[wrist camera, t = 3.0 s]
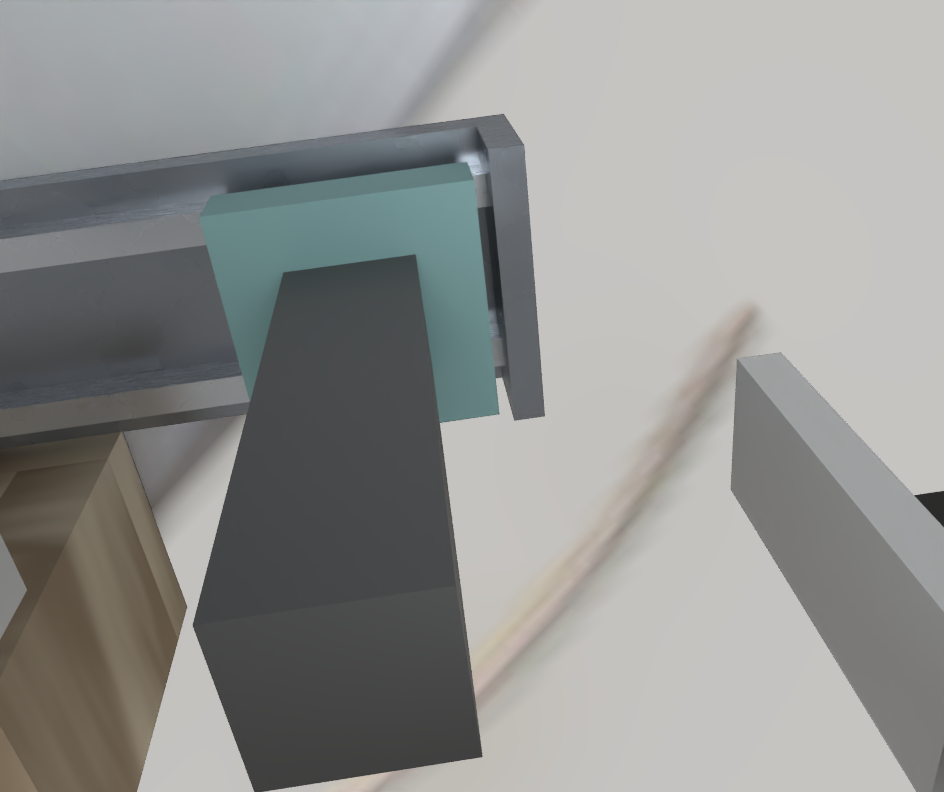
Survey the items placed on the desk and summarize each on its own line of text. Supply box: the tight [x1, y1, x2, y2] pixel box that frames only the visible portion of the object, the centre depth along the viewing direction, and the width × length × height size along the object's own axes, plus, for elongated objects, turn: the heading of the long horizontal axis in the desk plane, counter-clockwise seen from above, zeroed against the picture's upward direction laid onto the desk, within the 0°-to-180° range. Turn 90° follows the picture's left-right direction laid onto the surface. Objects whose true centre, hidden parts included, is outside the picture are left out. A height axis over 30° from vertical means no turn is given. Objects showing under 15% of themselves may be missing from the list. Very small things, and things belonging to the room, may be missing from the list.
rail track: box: [0, 114, 545, 449], centre depth 22 cm, size 18×7×3 cm, turn 96°
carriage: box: [193, 162, 499, 792], centre depth 16 cm, size 6×6×13 cm
